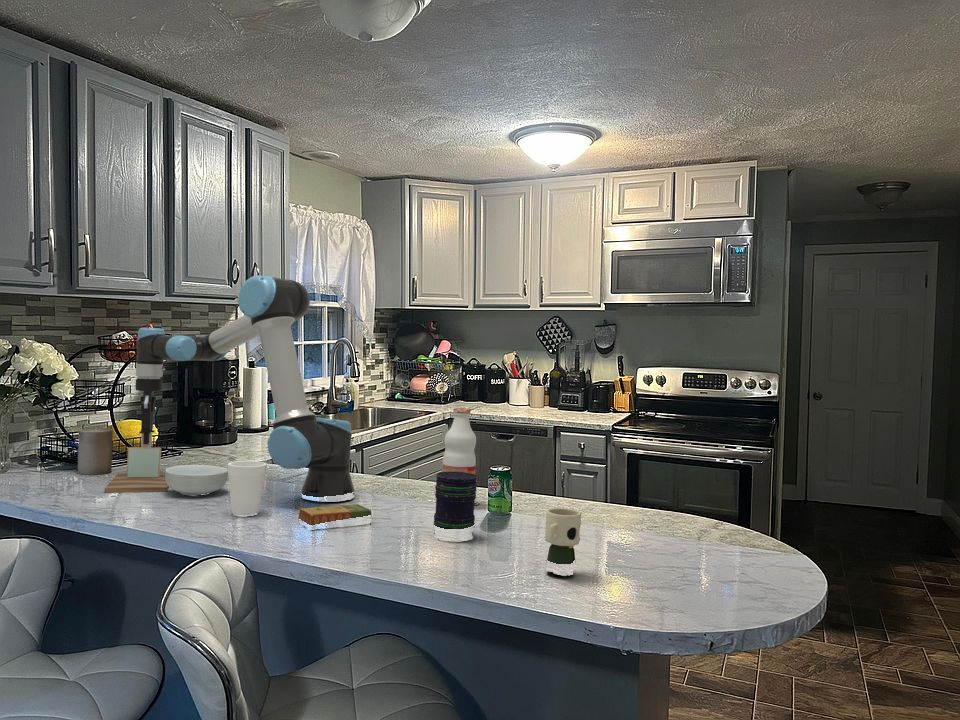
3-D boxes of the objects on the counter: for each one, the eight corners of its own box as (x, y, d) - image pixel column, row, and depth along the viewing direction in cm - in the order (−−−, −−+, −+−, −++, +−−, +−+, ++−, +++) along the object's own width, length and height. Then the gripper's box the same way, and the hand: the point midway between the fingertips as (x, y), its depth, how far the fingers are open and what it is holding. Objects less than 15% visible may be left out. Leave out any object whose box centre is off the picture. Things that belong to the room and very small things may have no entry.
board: (166, 491, 205) (167, 487, 204) (104, 492, 199) (104, 488, 199) (173, 476, 227) (174, 472, 227) (118, 476, 222) (118, 472, 222)
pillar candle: (114, 469, 233) (116, 423, 233) (107, 475, 224) (109, 427, 223) (81, 470, 230) (83, 423, 230) (73, 475, 221) (74, 427, 221)
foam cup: (224, 519, 177) (226, 466, 177) (226, 510, 186) (229, 460, 186) (263, 518, 180) (266, 467, 180) (264, 510, 189) (267, 461, 188)
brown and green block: (297, 524, 177) (298, 507, 177) (357, 518, 186) (358, 502, 186) (310, 532, 170) (311, 514, 170) (371, 525, 179) (372, 508, 179)
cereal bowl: (199, 502, 194) (200, 476, 193) (150, 495, 199) (151, 470, 199) (239, 491, 210) (240, 467, 210) (193, 485, 215) (194, 462, 215)
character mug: (564, 585, 140) (568, 519, 140) (532, 577, 144) (536, 513, 144) (587, 572, 149) (590, 510, 149) (556, 565, 153) (559, 504, 153)
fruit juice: (436, 502, 208) (441, 407, 208) (467, 502, 211) (472, 407, 211) (446, 510, 199) (451, 410, 199) (478, 509, 203) (483, 410, 202)
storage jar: (481, 536, 173) (484, 475, 173) (460, 545, 165) (463, 480, 164) (447, 529, 178) (450, 469, 178) (424, 537, 170) (427, 474, 169)
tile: (159, 477, 218) (160, 448, 217) (126, 478, 215) (127, 448, 215) (159, 476, 219) (161, 447, 219) (127, 477, 216) (128, 447, 216)
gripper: (160, 379, 215) (156, 457, 215) (164, 377, 227) (161, 451, 228) (132, 378, 213) (129, 457, 213) (138, 376, 225) (135, 451, 225)
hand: (145, 454), depth 220 cm, fingers closed
